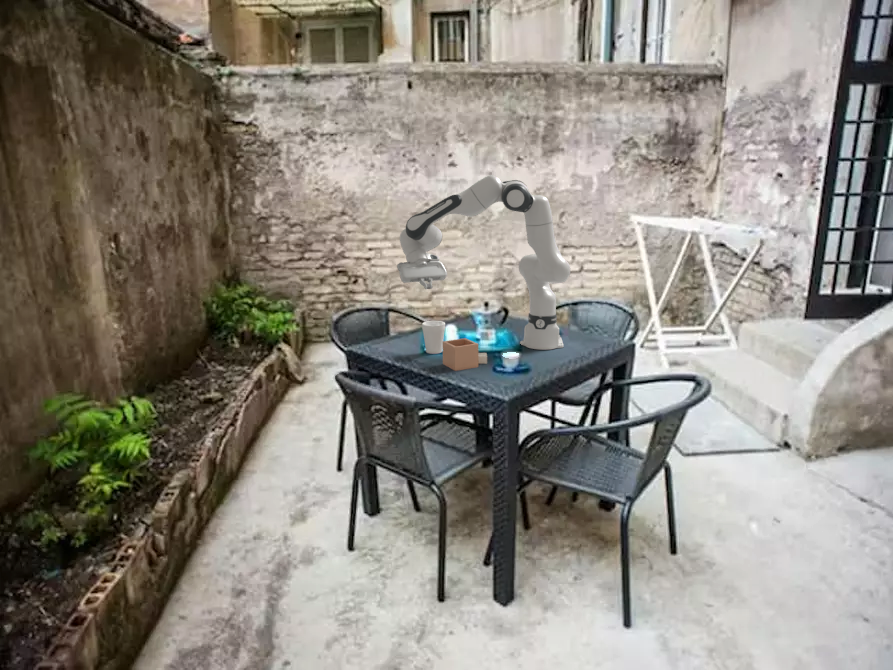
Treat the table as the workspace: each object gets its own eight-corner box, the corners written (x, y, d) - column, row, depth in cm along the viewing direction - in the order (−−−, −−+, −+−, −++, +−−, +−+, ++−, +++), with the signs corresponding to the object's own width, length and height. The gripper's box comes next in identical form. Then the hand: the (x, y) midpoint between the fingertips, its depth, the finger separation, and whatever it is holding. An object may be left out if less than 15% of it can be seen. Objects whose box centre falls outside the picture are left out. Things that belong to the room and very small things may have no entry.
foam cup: (419, 356, 244) (418, 325, 241) (427, 350, 253) (426, 320, 250) (441, 357, 242) (441, 326, 238) (448, 351, 250) (448, 321, 247)
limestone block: (473, 362, 235) (473, 352, 234) (486, 362, 235) (486, 352, 234) (474, 366, 230) (474, 356, 229) (487, 366, 230) (487, 356, 229)
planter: (442, 366, 230) (442, 341, 227) (465, 362, 234) (465, 338, 232) (455, 373, 221) (455, 347, 219) (478, 369, 226) (478, 343, 223)
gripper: (397, 258, 242) (408, 285, 236) (442, 255, 251) (453, 282, 245) (393, 267, 246) (403, 294, 240) (437, 265, 256) (447, 291, 250)
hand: (429, 288), depth 243 cm, fingers closed
